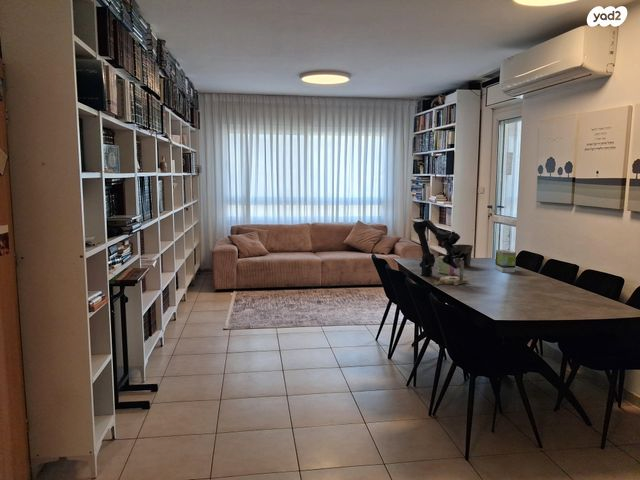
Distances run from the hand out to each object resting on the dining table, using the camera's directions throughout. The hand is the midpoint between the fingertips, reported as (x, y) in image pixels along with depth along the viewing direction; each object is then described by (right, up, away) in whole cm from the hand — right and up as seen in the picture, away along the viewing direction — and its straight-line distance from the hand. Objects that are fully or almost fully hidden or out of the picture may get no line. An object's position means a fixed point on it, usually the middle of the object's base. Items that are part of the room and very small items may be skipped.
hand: (462, 268), depth 316 cm
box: (0, -6, +39) cm, 40 cm away
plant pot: (+19, -3, +68) cm, 71 cm away
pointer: (-15, -11, +3) cm, 18 cm away
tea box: (+46, -5, +48) cm, 66 cm away
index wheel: (-4, -10, +9) cm, 14 cm away
